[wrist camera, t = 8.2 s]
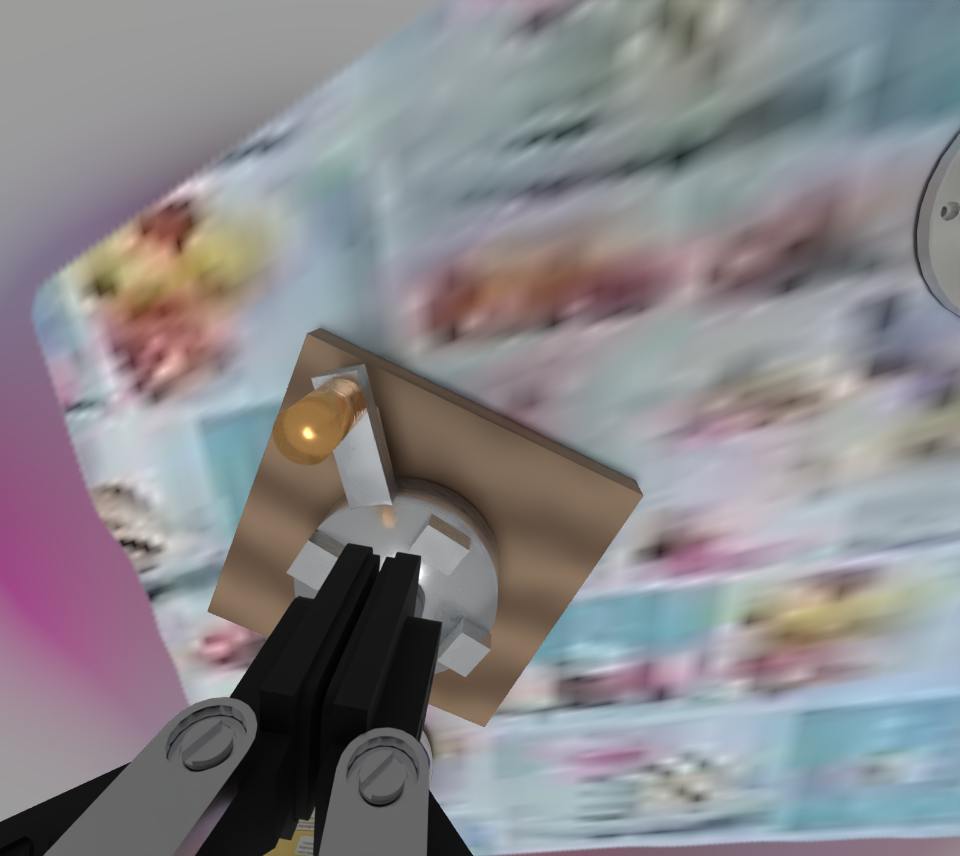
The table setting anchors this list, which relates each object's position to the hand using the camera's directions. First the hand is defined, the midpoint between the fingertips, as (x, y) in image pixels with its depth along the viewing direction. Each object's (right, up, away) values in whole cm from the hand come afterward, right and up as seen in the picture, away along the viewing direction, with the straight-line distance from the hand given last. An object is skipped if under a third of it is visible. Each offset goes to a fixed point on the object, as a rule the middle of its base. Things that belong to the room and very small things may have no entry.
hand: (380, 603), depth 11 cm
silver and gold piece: (-3, -1, +20) cm, 21 cm away
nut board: (-2, -4, +24) cm, 24 cm away
